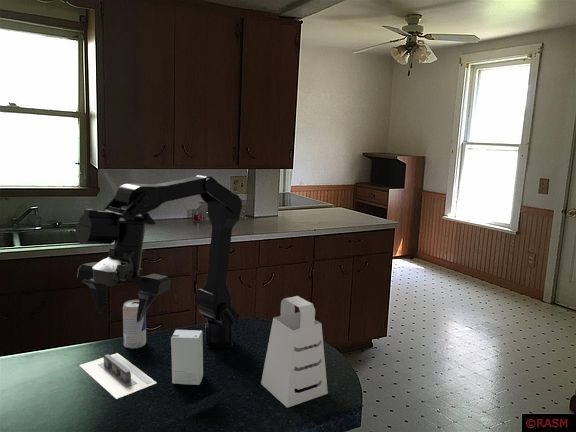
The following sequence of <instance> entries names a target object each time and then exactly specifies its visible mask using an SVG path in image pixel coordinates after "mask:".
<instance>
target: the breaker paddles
mask: <svg viewBox="0 0 576 432" xmlns="http://www.w3.org/2000/svg"><path fill="white" fill-rule="evenodd" d="M110 355H111V354H109V353H107V354H104V366H105V367H106V368H107V369H111V368H112V373H113V374H115V375H116V376H119V375H121V380H122V381H123V382H124V383H125V384H126V383H129V382H131V373H130V371H129V370H128V369H127V368H125V367H124V366H123V365H122V364H120V363H119V362H118V361H116V360H115V359H114V358H113V357H111V356H110Z"/></svg>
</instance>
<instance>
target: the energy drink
mask: <svg viewBox="0 0 576 432" xmlns="http://www.w3.org/2000/svg"><path fill="white" fill-rule="evenodd" d="M139 300H140V299H131V300H130V299H129V300H127V301H125V302H124V303H123V306H122V321H123V322H122V324H123V325H122V329H123V332H122V333H123V335H122V337H123V346H124V347H125V348H127V349H138V348H142V347H144V346H145V345H146V344H147V312H146V313H145V315H144V317H143V318H142V320H141V321H140V322H137V312H138V306H139Z"/></svg>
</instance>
